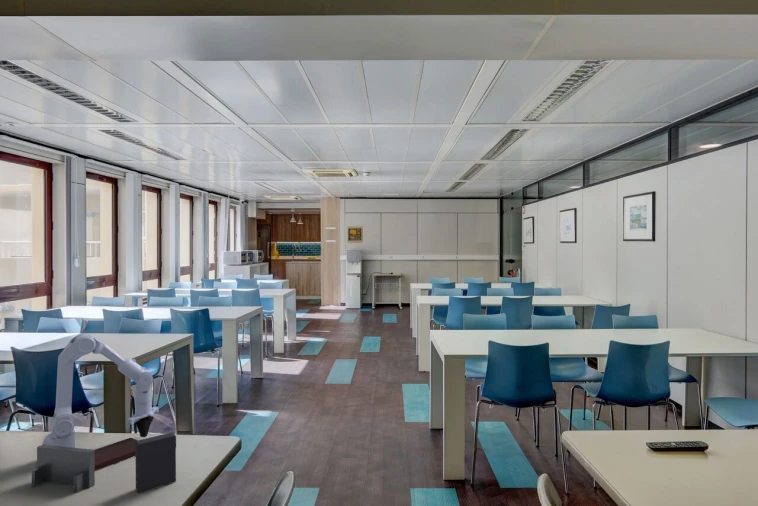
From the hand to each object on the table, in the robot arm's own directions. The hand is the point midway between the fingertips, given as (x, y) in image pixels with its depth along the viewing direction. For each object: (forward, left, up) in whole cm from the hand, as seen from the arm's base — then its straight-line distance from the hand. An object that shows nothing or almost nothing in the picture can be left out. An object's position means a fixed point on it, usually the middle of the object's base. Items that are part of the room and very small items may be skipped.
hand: (143, 436), depth 177 cm
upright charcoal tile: (+29, -29, -2) cm, 42 cm away
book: (0, -15, -2) cm, 16 cm away
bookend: (0, -36, -1) cm, 36 cm away
